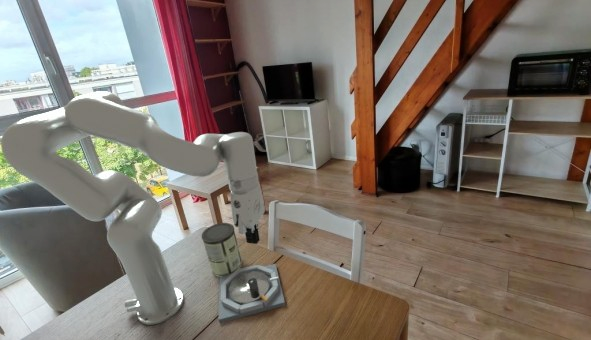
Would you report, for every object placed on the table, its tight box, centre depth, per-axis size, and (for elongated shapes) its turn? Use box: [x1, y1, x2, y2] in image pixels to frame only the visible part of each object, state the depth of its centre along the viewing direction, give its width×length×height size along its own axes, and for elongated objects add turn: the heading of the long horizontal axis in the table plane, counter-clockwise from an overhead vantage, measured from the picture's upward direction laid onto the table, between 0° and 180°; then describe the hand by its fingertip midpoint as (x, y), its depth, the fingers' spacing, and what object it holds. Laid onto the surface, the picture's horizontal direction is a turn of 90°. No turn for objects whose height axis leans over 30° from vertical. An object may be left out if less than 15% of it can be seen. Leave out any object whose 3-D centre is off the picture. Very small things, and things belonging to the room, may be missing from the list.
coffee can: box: [201, 222, 243, 278], centre depth 97 cm, size 10×10×14 cm
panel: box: [218, 263, 286, 324], centre depth 87 cm, size 18×17×3 cm
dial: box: [229, 271, 270, 305], centre depth 86 cm, size 12×12×6 cm
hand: (253, 241), depth 82 cm, fingers closed
